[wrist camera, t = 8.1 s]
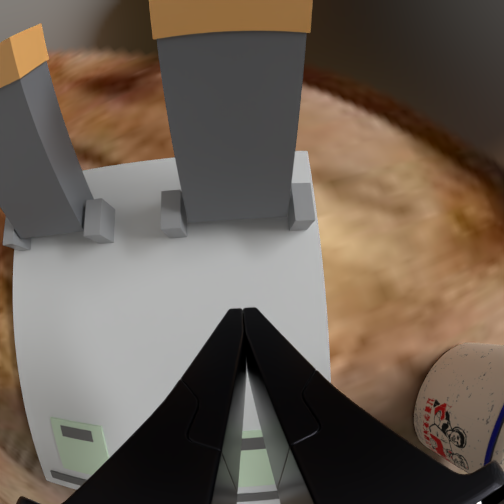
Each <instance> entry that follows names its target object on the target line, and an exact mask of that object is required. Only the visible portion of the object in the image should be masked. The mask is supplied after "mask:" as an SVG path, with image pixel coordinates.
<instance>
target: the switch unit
mask: <svg viewBox="0 0 504 504" xmlns="http://www.w3.org/2000/svg"><path fill="white" fill-rule="evenodd" d="M82 172H83V174H84V177H85V179H86V182H87V184H88V186H89V189H90V191H91V193H92V196H93V198H94V199H92V200H86V210H85V222H84V232H74V233H65V234H56V235H48V236H39V237H31V238H23V239H21V237H20V236H19V235H18V233H17V232H16V230H15V229H14V227H13V226H12V224H11V223H10V221H9V220H8V218H7V217H6V220H5V228H4V237H3V245H4V246H7V247H10V248H13V249H14V261H13V321H14V336H15V347H16V356H17V365H18V372H19V378H20V384H21V390H22V396H23V401H24V405H25V410H26V415H27V419H28V423H29V427H30V431H31V434H32V438H33V442H34V445H35V448H36V452H37V455H38V458H39V461H40V464H41V467H42V470H43V473H44V475H45V478H46V480H47V481H50V482H53V483H56V484H59V485H62V486H65V487H69V488H72V489H76V490H77V489H78V488H79V487H80V486H81V485H82V484H84V483H85V482H86V481H87V480H88V479H89V478H90V477H91V476H92V475H93V474H94V473H95V472H96V471H97V470H98V469H99V468H100V467H101V466H102V465H103V464H104V463H105V462H106V461H107V460H108V459H109V458H110V457H111V456H112V455H113V454H114V453H115V452H116V451H117V450H118V449H119V448H120V447H121V446H122V445H123V444H124V443H125V442H126V440H127V439H128V438H129V437H130V436H131V435H132V434H133V433H134V432H135V431H136V430H137V429H138V428H139V427H140V426H141V425H142V424H143V423H144V422H145V421H146V420H147V419H148V418H149V417H150V416H151V414H152V413H153V412H154V411H155V410H156V409H157V408H158V407H159V405H160V404H161V403H162V402H163V401H164V400H165V398H166V397H167V396H168V394H169V393H170V392H171V390H172V389H173V388H174V386H175V385H176V383H177V382H178V381H179V380H180V379H181V377H182V376H183V374H184V373H185V371H186V370H187V368H188V367H189V366H190V364H191V363H192V361H193V360H194V358H195V357H196V356H197V354H198V353H199V351H200V350H201V348H202V347H203V346H204V344H205V343H206V341H207V340H208V338H209V337H210V336H211V334H212V333H213V331H214V330H215V328H216V327H217V325H218V324H219V323H220V321H221V320H222V318H223V317H224V315H225V314H226V312H227V311H228V310H229V309H231V308H242V310H243V308H248V307H256V308H257V309H258V310H259V311H260V312H261V313H262V314H263V315H264V316H265V317H266V318H267V319H268V320H269V321H270V322H271V323H272V324H273V326H274V327H275V328H276V329H277V330H278V331H279V332H280V333H281V334H282V335H283V336H284V337H285V338H286V339H287V340H288V341H289V342H290V343H291V344H292V345H293V346H294V347H295V348H296V349H297V350H298V351H299V352H300V353H301V355H302V356H303V357H304V358H305V359H306V360H307V361H308V362H309V363H310V364H311V365H312V366H313V367H314V368H315V369H316V370H318V371H319V372H320V373H321V374H322V375H323V376H324V377H325V378H326V379H327V380H328V381H329V382H330V383H331V375H330V353H329V335H328V320H327V307H326V295H325V283H324V273H323V263H322V253H321V244H320V236H319V228H318V220H317V212H316V204H315V197H314V190H313V183H312V177H311V170H310V164H309V158H308V152H307V151H295V157H294V165H293V174H292V182H291V190H290V198H289V206H288V214H287V217H274V218H255V219H238V220H221V221H206V222H192V223H188V219H187V215H186V210H185V205H184V201H183V196H182V191H181V186H180V181H179V176H178V171H177V166H176V160H175V158H166V159H157V160H149V161H141V162H134V163H127V164H120V165H113V166H107V167H101V168H95V169H89V170H84V171H82ZM246 367H247V364H246ZM237 494H238V495H237V504H280V500H279V496H278V492H277V488H276V485H275V481H274V477H273V473H272V470H271V466H270V462H269V458H268V454H267V451H266V447H265V443H264V439H263V435H262V431H261V427H260V423H259V419H258V415H257V411H256V407H255V403H254V399H253V394H252V390H251V386H250V382H249V378H248V373H247V376H246V391H245V404H244V417H243V430H242V443H241V456H240V469H239V482H238V492H237Z"/></svg>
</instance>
